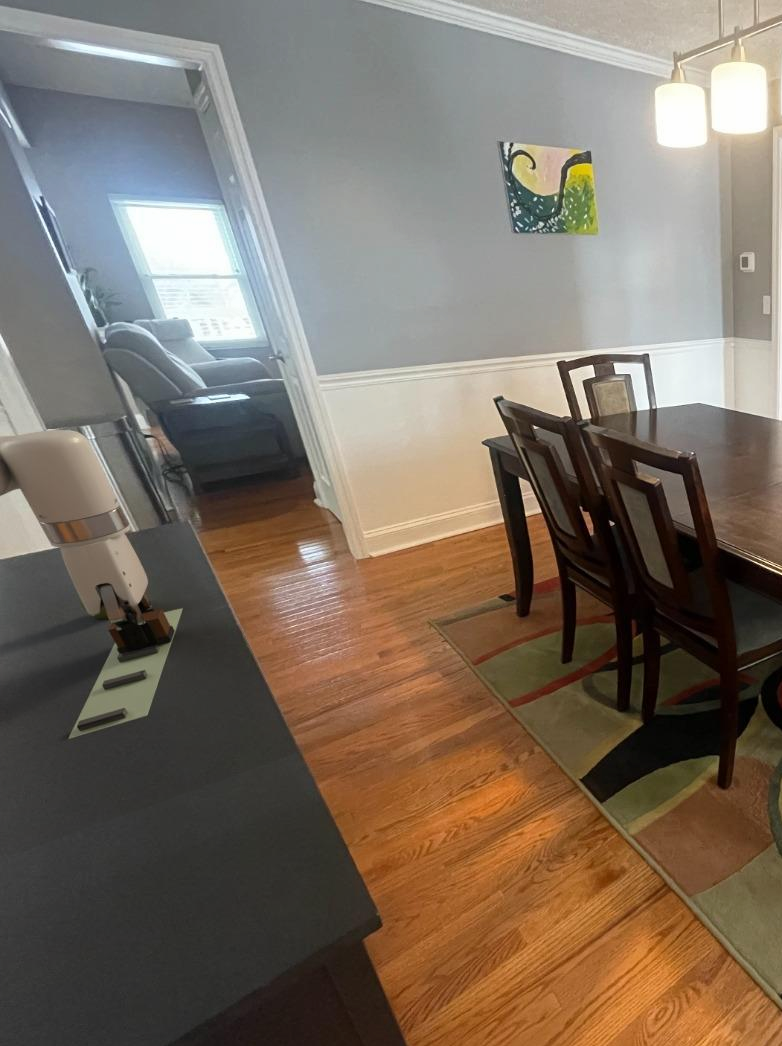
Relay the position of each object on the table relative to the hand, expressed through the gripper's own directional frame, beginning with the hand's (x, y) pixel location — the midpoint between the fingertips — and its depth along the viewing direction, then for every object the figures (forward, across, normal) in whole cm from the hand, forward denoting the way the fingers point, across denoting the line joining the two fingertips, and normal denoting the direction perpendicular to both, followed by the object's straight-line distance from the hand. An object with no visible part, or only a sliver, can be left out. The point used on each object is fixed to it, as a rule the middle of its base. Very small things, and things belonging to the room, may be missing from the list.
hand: (147, 641), depth 86 cm
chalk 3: (0, +20, -1) cm, 20 cm away
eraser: (0, 0, 0) cm, 0 cm away
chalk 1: (0, +4, 0) cm, 4 cm away
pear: (+1, -16, -6) cm, 17 cm away
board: (+1, +5, -1) cm, 6 cm away
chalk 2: (0, +11, -1) cm, 11 cm away
